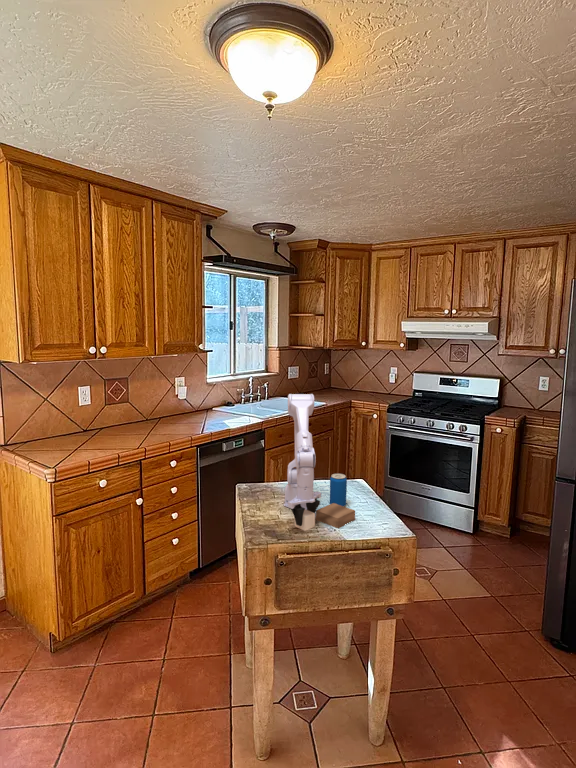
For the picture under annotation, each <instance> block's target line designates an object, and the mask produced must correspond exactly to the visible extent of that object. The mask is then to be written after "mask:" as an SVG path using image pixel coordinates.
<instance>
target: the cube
mask: <svg viewBox="0 0 576 768" xmlns="http://www.w3.org/2000/svg"><path fill="white" fill-rule="evenodd" d="M294 527H296V528H298V529H300V530H302V531H304V532H305V531H307V530H310V529H312V528H315V527H316V512H315V513H313V512H311V511H308V510H306V509H305V510H304V513H303V518H302V526H299V525H296V521H295V520H294Z"/></svg>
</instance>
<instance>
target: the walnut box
mask: <svg viewBox="0 0 576 768" xmlns="http://www.w3.org/2000/svg"><path fill="white" fill-rule="evenodd" d="M315 521H318V522H319V523H323V524H325V525H328V526H330V527H332V528H335V529H337V528H338V529H340V528H342V527H344V526H346V525H348V524H350V523H352V522H354V521H356V510H355V509H352V508H349V507H346V506H341V505H338V504H335V503H332V504H330V503H329V504H328V505H326V506H323V507H321V508H319V509H318V508H317V509H316V512H315ZM351 521H352V522H351ZM349 522H350V523H349ZM347 523H348V524H347ZM345 524H346V525H345Z"/></svg>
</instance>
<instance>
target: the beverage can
mask: <svg viewBox="0 0 576 768" xmlns="http://www.w3.org/2000/svg"><path fill="white" fill-rule="evenodd" d="M347 482H348V479H347V476H346V475H345V474H343V473H333V474H331V476H330V478H329V505H330V504H332V503H335V504H338V505H341V506H344V507H346V505H347V493H348V492H347V489H348V488H347V485H348V483H347Z"/></svg>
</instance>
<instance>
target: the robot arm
mask: <svg viewBox="0 0 576 768" xmlns="http://www.w3.org/2000/svg"><path fill="white" fill-rule="evenodd" d="M314 409H315V395H314V394H313V393H309V394H308V393H307V394H306V393H305V394H304V393H295V394H294V393H293V394H292V393H289V394H288V395H287V413H288V415H289V416H290V417H292V419H293V422H294V427H293V428H294V430H293V431H294V434H293V435H294V459H293V460H292V461H290V462H289V463H288V465H287V472H286V473H287V476H286V477H287V484H286V485H285V489H284V503H283V505H284V507H285V508H289V509H290V510H291V512H292V515H293V517H294V522H295V521H296V525H299V526H302V518H303V513H304V510H305V509H306V510H308V511H311V512H313V513H315V514H316V510H318V508H319V506H320V504H321V502H320V500H318V499H322V492H319V491H314V480H315V473H314V472H315V470H314V468H316V463H317V462H316V461H317V460H316V458H317V457H316V452H315V448H314V447H313V445H314V444H313V443H314V442H313V434H312V433H311V432H309V416H312V415H313V412H314Z"/></svg>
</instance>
